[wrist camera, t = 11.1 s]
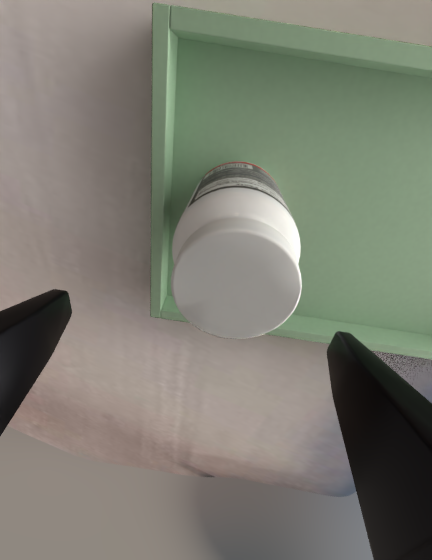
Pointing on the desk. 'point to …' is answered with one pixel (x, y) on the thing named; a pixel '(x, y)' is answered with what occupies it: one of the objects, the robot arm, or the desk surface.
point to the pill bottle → (236, 254)
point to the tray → (305, 162)
